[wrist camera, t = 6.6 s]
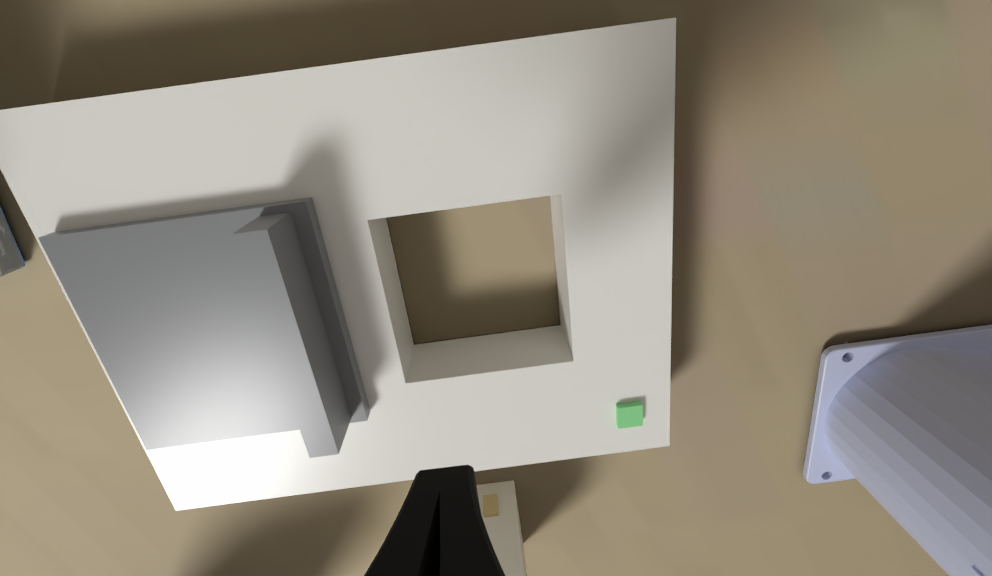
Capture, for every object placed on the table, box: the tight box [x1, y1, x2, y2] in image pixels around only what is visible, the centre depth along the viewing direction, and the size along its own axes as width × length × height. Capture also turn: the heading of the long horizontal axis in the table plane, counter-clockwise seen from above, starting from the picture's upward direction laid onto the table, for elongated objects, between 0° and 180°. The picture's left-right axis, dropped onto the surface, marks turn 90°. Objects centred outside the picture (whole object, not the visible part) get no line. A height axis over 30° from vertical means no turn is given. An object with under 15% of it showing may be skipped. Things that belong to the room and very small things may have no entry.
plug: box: [476, 480, 527, 576], centre depth 23 cm, size 4×5×6 cm
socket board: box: [0, 18, 676, 511], centre depth 19 cm, size 21×16×3 cm
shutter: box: [39, 197, 370, 458], centre depth 17 cm, size 8×8×3 cm
